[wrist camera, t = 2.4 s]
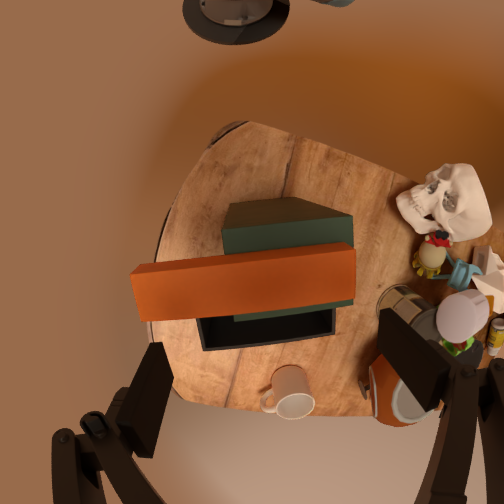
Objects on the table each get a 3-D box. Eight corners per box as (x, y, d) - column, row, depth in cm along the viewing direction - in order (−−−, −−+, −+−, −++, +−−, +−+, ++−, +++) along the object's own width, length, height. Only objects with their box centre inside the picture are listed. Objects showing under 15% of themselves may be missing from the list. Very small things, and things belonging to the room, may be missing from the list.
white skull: (386, 165, 50) (471, 138, 37) (413, 208, 62) (480, 190, 49) (396, 228, 45) (495, 204, 32) (421, 260, 58) (494, 244, 45)
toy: (426, 215, 47) (410, 254, 60) (424, 246, 45) (407, 281, 57) (457, 223, 45) (437, 260, 57) (458, 254, 42) (434, 287, 54)
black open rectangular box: (209, 317, 57) (203, 351, 45) (201, 274, 55) (192, 301, 43) (316, 303, 58) (335, 334, 45) (315, 261, 55) (335, 284, 43)
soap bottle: (435, 293, 44) (473, 284, 55) (434, 342, 43) (472, 319, 54) (477, 293, 36) (502, 282, 47) (474, 345, 35) (501, 320, 46)
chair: (447, 286, 59) (477, 304, 47) (427, 277, 58) (458, 295, 46) (459, 257, 57) (490, 272, 46) (440, 247, 56) (472, 261, 44)
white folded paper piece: (469, 304, 50) (528, 335, 44) (494, 245, 46) (551, 284, 40) (445, 282, 67) (501, 310, 61) (464, 235, 63) (519, 268, 57)
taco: (446, 335, 63) (477, 363, 48) (431, 345, 63) (461, 375, 48) (441, 289, 59) (479, 314, 44) (425, 299, 59) (462, 327, 44)
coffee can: (409, 276, 57) (446, 300, 44) (415, 313, 60) (447, 340, 46) (372, 295, 58) (403, 325, 44) (379, 331, 60) (407, 364, 47)
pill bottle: (501, 329, 57) (492, 360, 60) (511, 322, 57) (503, 352, 60) (488, 321, 63) (481, 351, 66) (498, 314, 64) (491, 344, 67)
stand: (235, 251, 54) (234, 322, 27) (229, 203, 52) (221, 229, 25) (298, 243, 54) (353, 304, 27) (294, 196, 52) (352, 215, 25)
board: (475, 317, 62) (485, 324, 57) (475, 364, 68) (483, 372, 63) (420, 359, 64) (429, 369, 59) (426, 401, 69) (433, 410, 64)
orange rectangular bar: (150, 307, 26) (141, 322, 23) (140, 264, 25) (129, 274, 22) (344, 286, 27) (355, 298, 24) (343, 241, 26) (356, 249, 23)
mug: (265, 400, 64) (269, 430, 54) (250, 379, 62) (252, 409, 52) (310, 381, 63) (320, 409, 53) (297, 358, 61) (306, 387, 51)
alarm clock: (373, 362, 46) (457, 341, 41) (365, 344, 62) (430, 329, 58) (377, 446, 43) (454, 426, 38) (370, 413, 59) (432, 398, 55)
